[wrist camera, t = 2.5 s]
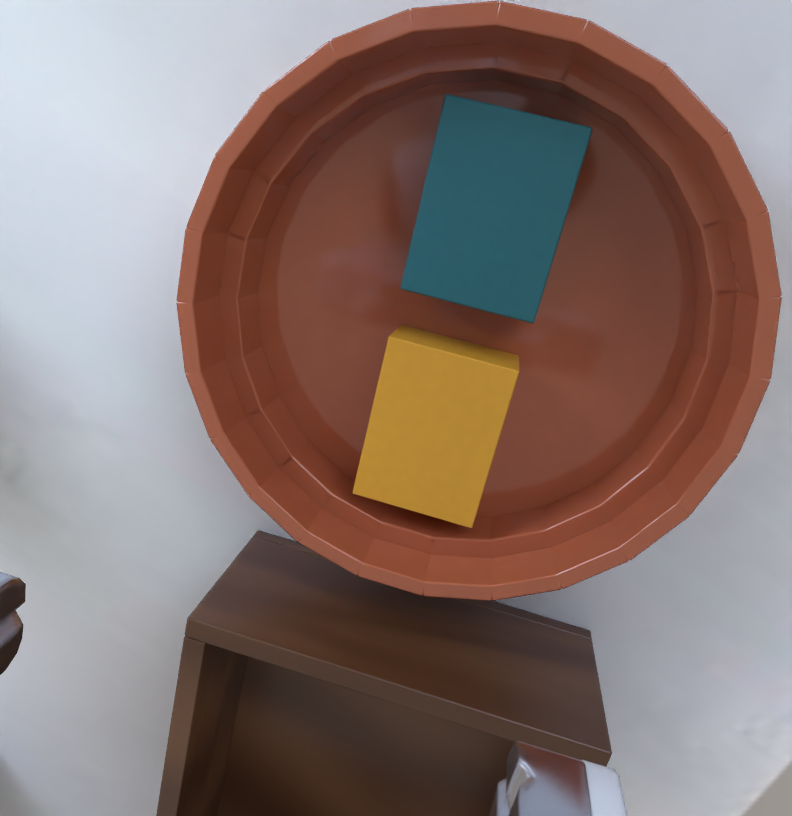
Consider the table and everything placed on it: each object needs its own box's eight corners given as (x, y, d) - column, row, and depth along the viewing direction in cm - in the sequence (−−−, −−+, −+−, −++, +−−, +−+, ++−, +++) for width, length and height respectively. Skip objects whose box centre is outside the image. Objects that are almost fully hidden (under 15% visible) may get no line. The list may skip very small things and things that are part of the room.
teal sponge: (452, 105, 22) (445, 92, 20) (585, 136, 22) (593, 127, 20) (410, 281, 24) (399, 289, 22) (532, 313, 24) (533, 324, 21)
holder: (257, 529, 29) (186, 617, 23) (590, 630, 27) (613, 753, 21) (205, 810, 34) (136, 945, 28) (483, 906, 33) (475, 1071, 26)
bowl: (276, -10, 23) (220, -61, 18) (820, 110, 21) (898, 86, 17) (203, 468, 28) (148, 513, 24) (627, 593, 27) (648, 665, 22)
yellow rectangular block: (400, 323, 25) (388, 336, 22) (519, 355, 24) (519, 371, 22) (366, 468, 27) (351, 493, 24) (475, 500, 26) (471, 529, 24)
